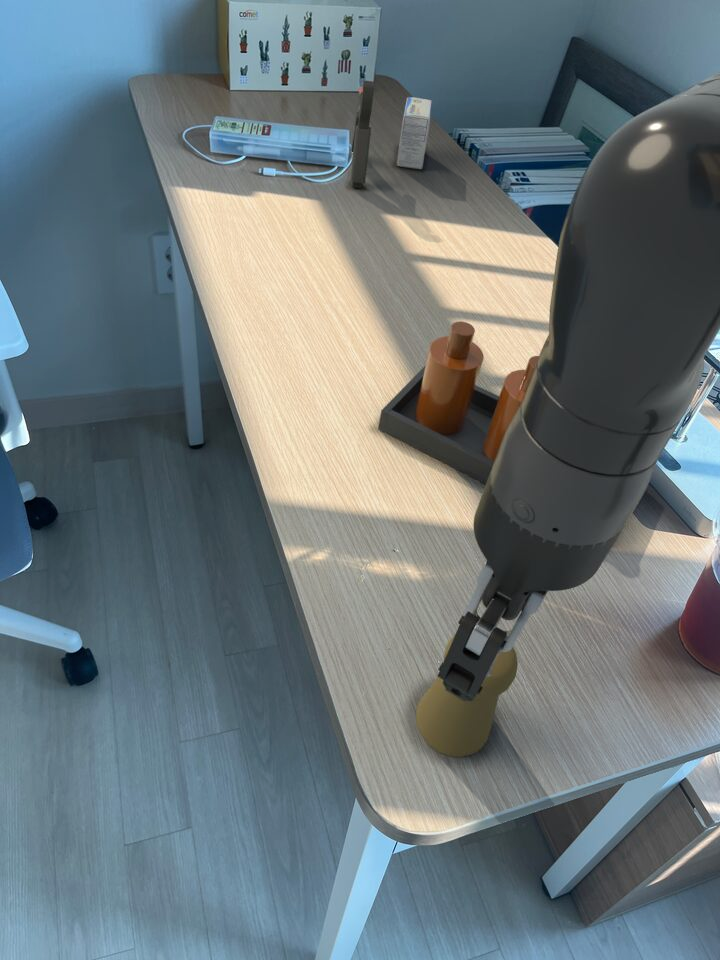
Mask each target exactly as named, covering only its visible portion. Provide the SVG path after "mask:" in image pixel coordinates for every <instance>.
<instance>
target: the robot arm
mask: <svg viewBox="0 0 720 960" xmlns="http://www.w3.org/2000/svg"><path fill="white" fill-rule="evenodd" d="M553 273H554V274H553V282H552V288H551V295H550V296H551V297H550V302H549V321H548V335H547V337H546V339H545V341H544V343H543V345H542V347H541V349H540V353H539V355H538V356H539V358H538V361H537V364H536V366H535V369H534V372H533V374H532V377H531V380H530V382H529V385H528V388H527V390H526V393H525V396H524V398H523V400H522V402H521V404H520V407H519V408H518V410H517V412H516V413H515V415H514V417H513V418H512V420H511V422H510V424H509V426H508V428H507V430H506V432H505V434H504V437H503V439H502V442H501V445H500V447H499V450H498V453H497V456H496V458H495V461H494V464H493V466H492V469H491V472H490V475H489V477H488V480H487V483H486V484H485V486H484V489H483V491H482V493H481V497H480V499H479V502H478V505H477V508H476V510H475V513H474V517H473V533H474V537H475V538H474V539H475V541H476V543H477V546H478V548H479V550H480V552H481V554H482V555H483V556H484V558H485V562H484V564H483V565H482V567H481V570H480V572H479V574H478V575H477V578H476V582H477V587H476V588H475V590H474V592H473V594H472V596H471V597H470V600H469V602H468V603H467V605H466V607H465V609H464V611H463V613H462V615H461V617H460V619H459V620H458V623H457V624H459V626H458V627H457V630H456V632H455V633H454V635H455V637H454V639H453V641H452V644H451V646H450V648H449V651H448V653H447V655H446V658H445V660H444V659H443V662H441V664H440V665H439V668H438V674H437V677H439V678H441V679H442V680H443V685H444V686H445V687H446V688H445V690H446V691H448V692H449V693H451V694H452V695H454V696H456V697H457V698H459V699H461V700H462V701H464V702H465V700H466V701H473V699H474V698H475V696H476V694H480V692H481V690H482V689H483V687H482V686H481V685H482V683H483V681H485V679H486V677H487V676H488V677H490V675H491V673H492V671H493V669H491V668H492V666H493V664H494V663H495V661H496V659H497V657H498V655H499V653H500V652H508V651H510V650H511V649H512V647H513V648H514V646H515V644H516V642H517V640H518V639H519V637H520V635H521V634H522V633H521V632H522V631H523V629H524V627H525V625H526V623H527V622H528V620H529V618H530V616H531V615H534V614H536V613H537V612H538V610H539V609H540V608H541V605H542V603H543V602H544V600H545V598H546V596H547V594H548V593H549V592H559V591H560V592H561V591H566V590H571V589H575V588H577V587H579V586H581V585H583V584H585V583H587V582H588V581H589V580H591V578H592V577H594V576H595V574H596V573H597V572H598V570H599V569H600V567H602V564H603V563H604V561H605V559H606V557H607V556H608V554H609V552H610V551H611V549H612V547H613V546H614V544H615V542H616V541H617V539H618V538H619V536H620V535H621V533H622V532H623V530H624V528H625V526H626V524H627V522H628V521H629V519H630V518H631V516H632V514H633V513H634V511H635V509H636V508H637V506H638V505H639V503H640V501H641V499H642V498H643V496H644V494H645V492H646V491H647V489H648V485H649V483H650V481H651V477H652V475H653V472H654V469H655V467H656V465H657V463H658V461H659V459H660V456H661V455H662V454H663V452H664V451H665V448H666V446H667V445H668V443H669V441H670V440H671V438H672V436H673V435H674V433H675V431H676V430H677V428H678V426H679V425H680V423H681V421H682V419H683V418H684V417H685V415H686V413H687V411H688V409H689V408H690V406H691V404H692V402H693V400H694V398H695V396H696V394H697V391H698V389H699V387H700V384H701V381H702V378H703V373H704V371H705V370H704V369H705V356H706V354H707V352H708V351H709V349H710V347H711V345H712V344H713V342H714V340H715V339H716V337H717V335H718V333H719V332H720V71H719V72H717V73H715V74H713V75H711V76H709V77H708V78H706V79H703V80H701V81H700V82H698V83H696V84H694V85H692V86H690V87H688V88H686V89H684V90H682V91H681V92H679V93H677V94H675V95H674V96H671V97H669V98H668V99H665V100H663V101H662V102H660V103H658V104H656V105H654V106H652V107H650V108H648V109H646V110H644V111H642V112H641V113H639V114H637V115H636V116H634V117H632V118H631V119H629V120H628V121H626V122H625V123H624V124H622V125H621V126H620V127H618V128H617V129H616V130H615V131H614V132H613V133H612V134H611V135H610V136H609V137H608V138H607V139H606V140H605V141H604V143H603V144H602V145H601V146H600V148H599V149H598V150H597V152H596V153H595V154H594V156H593V157H592V159H591V161H590V162H589V164H588V166H587V167H586V169H585V171H584V173H583V175H582V177H581V179H580V181H579V183H578V185H577V188H576V189H575V191H574V193H573V196H572V199H571V200H570V203H569V206H568V208H567V212H566V215H565V217H564V221H563V225H562V228H561V232H560V237H559V241H558V247H557V252H556V258H555V266H554V272H553ZM481 602H482V605H483V607H484V608H485V610H484V611H483V612H482V615H481V616H480V615H479V613H478V608H479V606H480V604H481ZM516 618H517V619H516ZM501 619H503V620H505V621H514V620H515V619H516V621H515V623H514V624H513V626H512V628H511V629H510V630H503V629H501V628H499V627H498V625H499V623H500V622H501Z"/></svg>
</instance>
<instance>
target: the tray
mask: <svg viewBox="0 0 720 960" xmlns="http://www.w3.org/2000/svg"><path fill="white" fill-rule="evenodd" d="M425 367H426V364H425V365H424V366H423V367H422V368H421V369H420V370H419V371H418V372H417V373H416V374H415V375H414V376H413V377H412V379H410V380H409V382H407V383H406V384H405V385H404V386H403V387H402V389H400V391H398V392H397V394H396V395H395V396H394V397H393V398H392V399H390V401H388V403H387V404H386V405H385V406H384V407H383V408H382V409H381V410H380V416H379V422H378V425H377V430H379V431H381V432H383V433H385V434H386V435H389V436H390V437H393V438H394V439H396V440H397V441H400V442H401V443H404V444H406V445H408V446H410V447H412V448H414V449H415V450H418V451H420V452H422V453H423V454H425V455H427V456H429V457H431V458H433V459H435V460H437V461H439V462H441V463H443V464H445V465H447V466H449V467H451V468H453V469H454V470H456V471H459V472H461V473H462V474H464V475H466V476H468V477H470V478H472V479H474V480H476V481H478V482H480V483H482V484H484V485H486V483H487V480H488V477H489V475H490V472H491V469H492V466H493V464H494V461H493V460H491V459H489V458H488V457H487V456H486V454H485V452H484V449H483V444H484V441H485V438H486V435H487V432H488V429H489V426H490V423H491V420H492V417H493V414H494V411H495V408H496V405H497V402H498V399H499V396H500V395H498V394H496V393H493V392H491V391H489V390H487V389H485V388H483V387H481V386H479V385H476V386H475V390H474V393H473V397H472V400H471V403H470V407H469V410H468V413H467V417H466V420H465V423H464V426H463V427H462V428H461V429H460V430H459V431H457V432H455V433H452V434H439V433H437V432H435V431H433V430H431V429H429V428H427V427H425V426H423V425H421V424H419V423H418V421H417V419H416V417H415V410H416V406H417V402H418V397H419V393H420V389H421V384H422V380H423V376H424V371H425Z"/></svg>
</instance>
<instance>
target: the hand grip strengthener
mask: <svg viewBox="0 0 720 960" xmlns="http://www.w3.org/2000/svg"><path fill="white" fill-rule="evenodd" d="M361 85H362V87H360V89H359V90H358V97H359V103H358V104H359V105H358V111H356V115H355V120H354V121H355V122H354V129H353V136H352V141H351V147H350V152H351V151H352V152H353V153H351V155H352V161H351V169H350V170H351V171H350V182H351V185H352V186H351V187H352V188H355V189H363V184H365V183H366V177H367V170H368V160H369V152H370V142H371V132H372V127H371V126H370V123H371V122H370V121H371V116H372V111H373V110H372V108H373V102H374V90H375V81H373V80H362V83H361Z"/></svg>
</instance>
